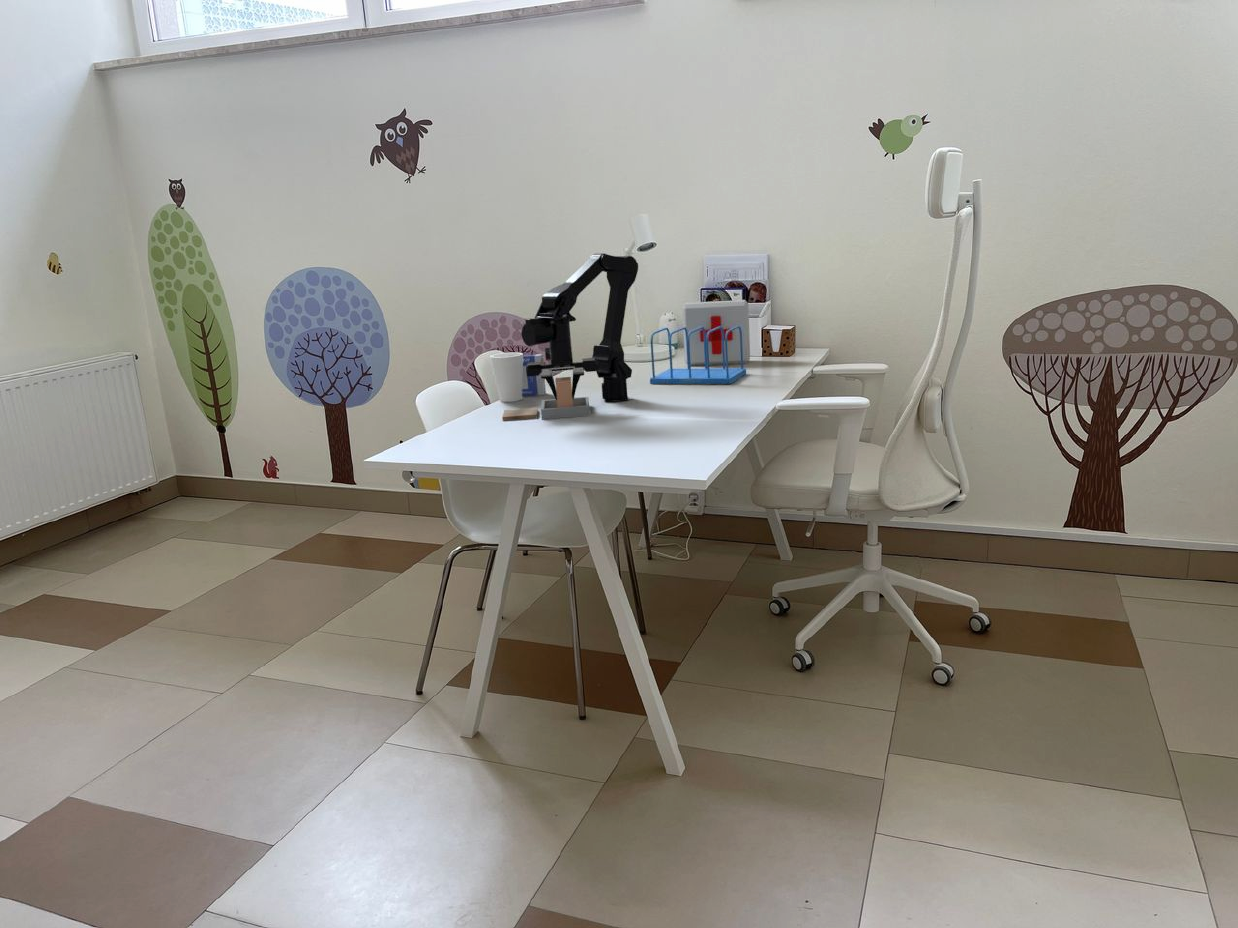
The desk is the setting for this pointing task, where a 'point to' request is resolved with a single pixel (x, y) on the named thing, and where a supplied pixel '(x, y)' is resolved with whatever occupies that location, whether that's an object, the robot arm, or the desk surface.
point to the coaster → (520, 414)
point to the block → (564, 392)
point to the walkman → (532, 378)
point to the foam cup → (508, 375)
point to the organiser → (565, 408)
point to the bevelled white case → (717, 331)
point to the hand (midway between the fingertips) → (564, 399)
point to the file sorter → (698, 375)
